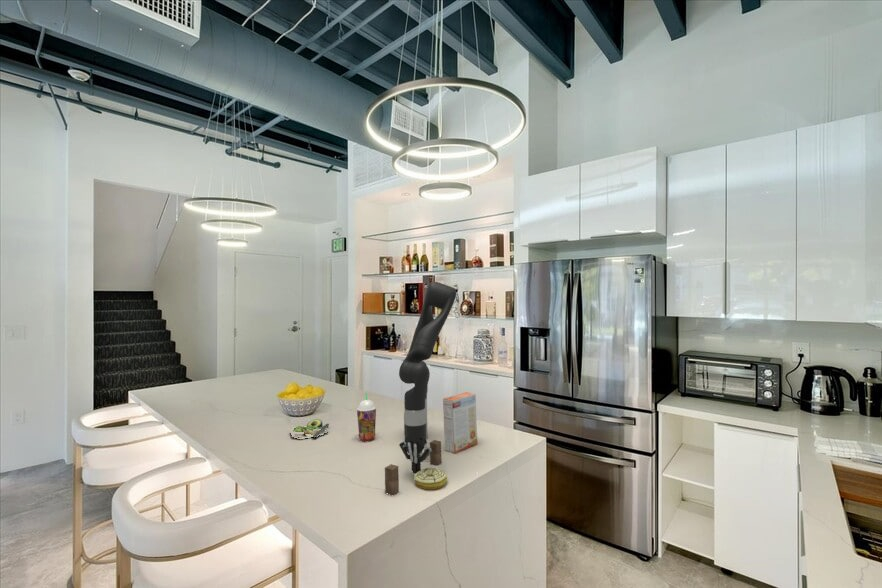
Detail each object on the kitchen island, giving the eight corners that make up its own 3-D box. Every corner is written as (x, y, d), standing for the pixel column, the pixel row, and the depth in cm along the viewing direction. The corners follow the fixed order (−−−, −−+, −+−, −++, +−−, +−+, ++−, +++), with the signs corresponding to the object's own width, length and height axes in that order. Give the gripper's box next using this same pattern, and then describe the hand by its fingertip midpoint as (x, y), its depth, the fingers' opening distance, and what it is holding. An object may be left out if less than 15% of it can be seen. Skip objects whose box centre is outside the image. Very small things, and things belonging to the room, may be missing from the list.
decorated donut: (425, 474, 138) (425, 463, 139) (452, 480, 133) (452, 469, 133) (408, 487, 129) (408, 475, 129) (437, 494, 124) (437, 482, 124)
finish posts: (385, 493, 125) (384, 467, 125) (434, 461, 149) (434, 439, 149) (392, 495, 123) (392, 469, 123) (441, 463, 147) (441, 441, 147)
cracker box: (466, 441, 169) (465, 391, 169) (477, 444, 165) (476, 393, 165) (443, 450, 159) (442, 397, 160) (454, 454, 155) (453, 400, 155)
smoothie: (360, 444, 168) (359, 396, 168) (355, 438, 175) (354, 392, 176) (379, 440, 172) (378, 394, 172) (373, 435, 179) (372, 390, 179)
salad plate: (333, 438, 178) (333, 427, 178) (291, 444, 171) (290, 433, 171) (328, 425, 195) (328, 416, 195) (289, 431, 188) (289, 421, 188)
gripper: (437, 421, 135) (438, 472, 135) (406, 415, 143) (407, 464, 142) (424, 427, 129) (425, 481, 129) (393, 421, 136) (393, 472, 136)
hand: (416, 472), depth 136 cm, fingers closed
